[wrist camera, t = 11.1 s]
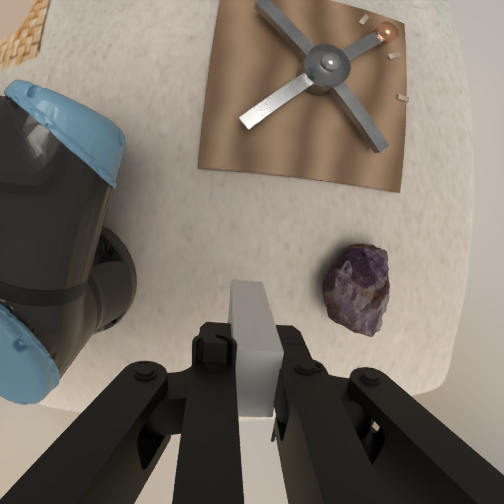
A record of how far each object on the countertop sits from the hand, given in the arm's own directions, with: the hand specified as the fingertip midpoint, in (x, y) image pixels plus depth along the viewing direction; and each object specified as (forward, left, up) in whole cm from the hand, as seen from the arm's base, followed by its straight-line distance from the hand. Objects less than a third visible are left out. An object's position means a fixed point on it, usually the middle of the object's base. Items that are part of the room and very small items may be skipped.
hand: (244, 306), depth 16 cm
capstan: (+8, +20, -23) cm, 31 cm away
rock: (+16, -6, -25) cm, 30 cm away
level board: (+8, +20, -24) cm, 33 cm away
